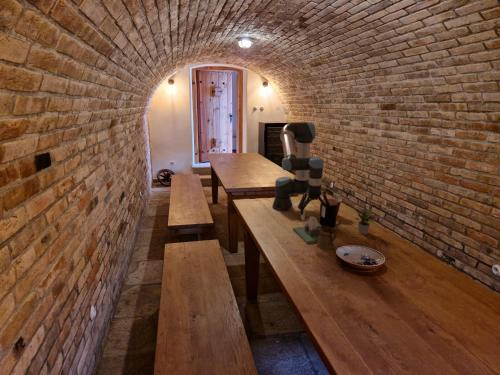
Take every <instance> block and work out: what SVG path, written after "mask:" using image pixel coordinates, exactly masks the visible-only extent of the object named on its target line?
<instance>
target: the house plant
mask: <svg viewBox="0 0 500 375" xmlns="http://www.w3.org/2000/svg"><path fill="white" fill-rule="evenodd" d="M366 209H367V207H364V211H363V209H360V210H359V209H358V210H357V209H356V210H355V211H354V212H355V213H357V216H358V217H355V218H354V220H355V221H358V222H357V227H358V228H357V230H358V233H359V234H360V235H367V234H368V233H369V229H370V226H371V223H370V222H372V223H375V222H376V220H375V219H377V217H376V216H373V215H374V214H375V213H376V211H374V212H372V213H370V212H371V211H372V210H371V208H368V209H367V210H366ZM359 211H360V212H361V213H360V212H359ZM369 213H370V214H369Z"/></svg>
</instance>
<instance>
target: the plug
mask: <svg viewBox="0 0 500 375" xmlns="http://www.w3.org/2000/svg"><path fill="white" fill-rule="evenodd" d="M308 218H309V220H308V223H309V232H310V230H312V229H316V228H317V223H318V218H316V217H315V216H309V217H308Z"/></svg>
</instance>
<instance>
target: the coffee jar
mask: <svg viewBox="0 0 500 375" xmlns="http://www.w3.org/2000/svg"><path fill="white" fill-rule="evenodd" d="M327 199H328V201H329V203H330V205H329V206H328V207H327V209H326V212H325V217H322V216H321V215H322V206H324V205H323V204H322V203H321V202H320V204H319V205H320V206H319V219H318V224H320V225H321V227H322V226H328V227H331V228H333V227H334V226H335V225H336V224H337V217H338V215H337V203H338V202H337V201H336V200H333V199H329V198H327ZM322 200H323V201H324V202H325V200H324V198H323V199H322ZM325 204H326V202H325Z"/></svg>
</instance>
